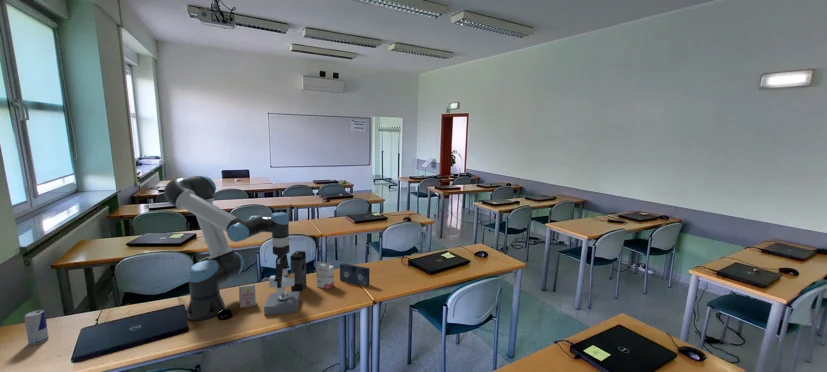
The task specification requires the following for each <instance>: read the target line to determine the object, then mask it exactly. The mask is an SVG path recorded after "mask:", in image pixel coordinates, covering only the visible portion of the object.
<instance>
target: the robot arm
mask: <svg viewBox="0 0 827 372" xmlns="http://www.w3.org/2000/svg"><path fill="white" fill-rule="evenodd" d="M163 191H164V196H165V199H166V201H168V203H169V204H171V205H172V206H174V207H175V208H177V209H178V210H179V209H180V210H185V211H188V212H189V213H191V214H193V215H195V217H196V220H197V222H198V225H199V228H200V230H201V233H202V236H203V239H204V241H205V244H206V246H207V248H208V250H209V257H208V259H207V260H206V259H205V260H203V261H198V262H196V263H195V264H193V265H192V266H190V268H189V269H188V285H189V286H188V287H189V293H190V294H189V296H190V297H189V298H190V300H189V303H188V306H187V310H186V316H187V319H189V320H190V321H204V320H209V319H212V318H215V317H217V316H218V315H217V314H218V312H219V311H221V310H224V309H226V304H225V302H224V300H223V297H222V296H221V291H220V285H222V284H224V283H225V282H228V281H229V280H231V279H233V278H235V277H237V276H238V275H239V274H241V272H242V271H243V270H244V267H245V261H244V258H243V255H241V254H240V253H239V252H235V249H234V248H232V247H230V245H229V243H228V240H227V237H228V239H229V240H230V241H231V242H237V243H239V242H240V241H241V242H242V241H244V240H246V239H248V238H251V237H252V236H253V237H254V236H256V235H259V234H260V233H271V243H272V254H273V255H275V256H277V257H276V259H275V271H274V273H275V274H274V276H275V280H274V281H275V282H276V287H275V288H276V289H275V290H276V293H277V294H283V280H282V275H289V270H288V269H289V268H290V265H289V261H288V255H287V254H289V253H290V240H291V238H290V226H289V225H290V220H289V215H288V213H287V212H283V211H280V212H273V213H272V214H270V215H271V216H268V215H267V216H266V215H258V214H257V215H251V216H249V218H247V220H242V219H241V218H238V217H237V216H235V215H234V214H231V213H229V212H227V210H224V209H222V208H221V207H218V206H217V205H215V204H214V201H215V194H216V191H217V186H216V184H215V182H214V180H213V179H211V178H210V177H208V176H205V175H193V176H188V177H179V178H178V177H177V178H175V179H172V180H171V181H169V182H168V183H167V184H166V186H165V188H164V190H163ZM225 232H226V234H225ZM226 235H227V237H226ZM224 311H225V310H224Z"/></svg>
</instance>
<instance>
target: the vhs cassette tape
mask: <svg viewBox="0 0 827 372" xmlns="http://www.w3.org/2000/svg"><path fill="white" fill-rule="evenodd" d="M339 282H344V283H349V284H356V285H360V286H364V285H365V286H366V287H368V286H369V285H370V267H365V266H358V265H354V264H347V263H343V262H341V263H340V264H339ZM365 286H364V287H365Z"/></svg>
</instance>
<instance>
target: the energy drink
mask: <svg viewBox="0 0 827 372" xmlns="http://www.w3.org/2000/svg"><path fill="white" fill-rule="evenodd" d="M24 324H25V325H24V326H25V329H26V330H25V331H26V336H27V337H26V338H27V343H28V344H27V345H30V346H36V345H41V344H43V343H45V342H47V341H48V339H49V332H48V330H49V329H48V323H47V316H46V312H45V310H44V309H37V310H32V311H29V312H27V313H25V314H24Z"/></svg>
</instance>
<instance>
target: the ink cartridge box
mask: <svg viewBox="0 0 827 372" xmlns="http://www.w3.org/2000/svg"><path fill="white" fill-rule="evenodd" d="M315 268H316V270H315V272H316V287H317V288H322V289H326V290H327V289H328V290H330V289H331V288H333V287H334V286H335V266H334V265H330V263H329V262H323V261H316V267H315Z"/></svg>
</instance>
